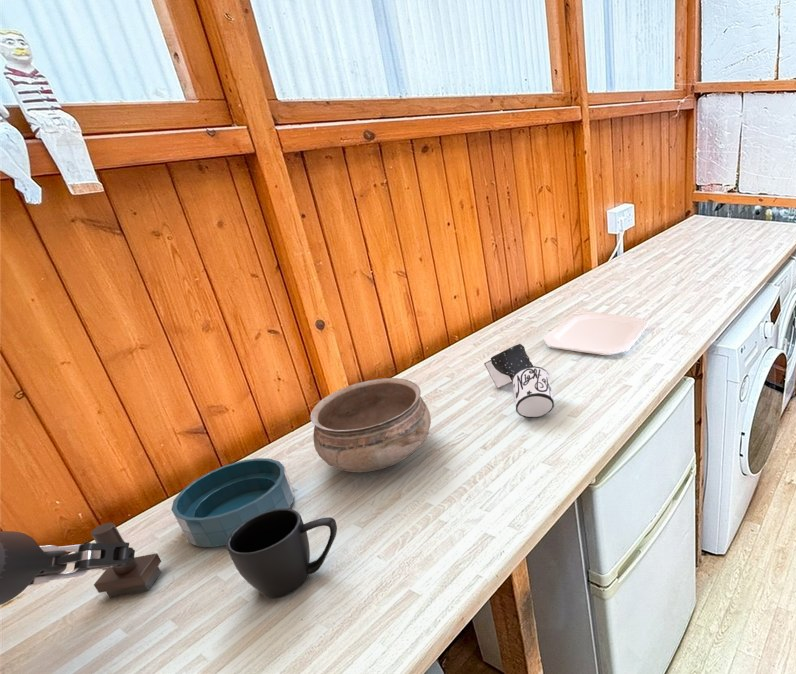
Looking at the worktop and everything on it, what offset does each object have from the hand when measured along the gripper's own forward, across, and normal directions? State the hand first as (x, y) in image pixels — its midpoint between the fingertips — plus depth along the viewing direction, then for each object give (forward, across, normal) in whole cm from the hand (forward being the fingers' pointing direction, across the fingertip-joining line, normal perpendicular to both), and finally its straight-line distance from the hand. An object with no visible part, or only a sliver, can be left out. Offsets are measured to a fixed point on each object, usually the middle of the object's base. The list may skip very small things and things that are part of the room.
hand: (88, 564), depth 65 cm
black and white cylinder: (+34, -54, -22) cm, 67 cm away
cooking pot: (+24, -28, -12) cm, 38 cm away
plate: (+53, -76, -41) cm, 102 cm away
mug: (+5, -22, +7) cm, 24 cm away
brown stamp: (+9, 0, +3) cm, 9 cm away
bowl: (+16, -9, -5) cm, 19 cm away
